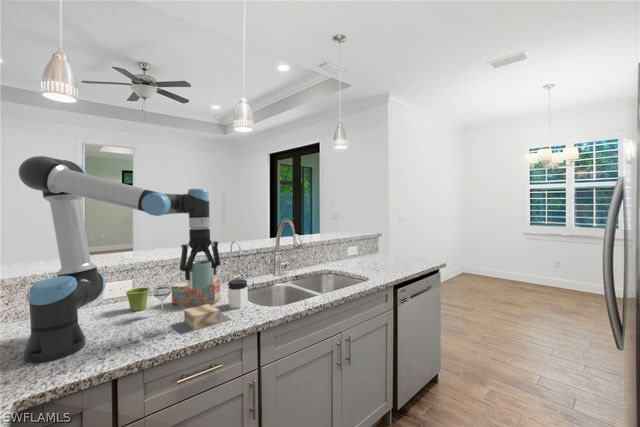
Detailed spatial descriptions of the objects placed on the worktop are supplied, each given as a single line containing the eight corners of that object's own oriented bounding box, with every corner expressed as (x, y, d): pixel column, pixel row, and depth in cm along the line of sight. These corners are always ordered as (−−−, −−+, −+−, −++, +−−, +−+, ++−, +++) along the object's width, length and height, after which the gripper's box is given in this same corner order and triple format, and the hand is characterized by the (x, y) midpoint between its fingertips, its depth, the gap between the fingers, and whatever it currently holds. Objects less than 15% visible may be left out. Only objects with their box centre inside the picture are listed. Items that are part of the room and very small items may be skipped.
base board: (180, 337, 108) (180, 334, 107) (170, 327, 116) (170, 325, 116) (232, 321, 121) (232, 319, 121) (219, 313, 130) (219, 311, 130)
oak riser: (193, 329, 112) (193, 316, 111) (184, 322, 119) (184, 309, 119) (219, 322, 118) (219, 309, 118) (209, 315, 126) (208, 303, 126)
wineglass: (171, 310, 134) (171, 284, 134) (170, 315, 128) (169, 288, 128) (154, 312, 132) (153, 286, 131) (152, 318, 126) (151, 290, 125)
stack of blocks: (171, 305, 142) (170, 279, 141) (179, 301, 148) (178, 276, 147) (215, 306, 139) (214, 280, 139) (220, 302, 146) (220, 277, 145)
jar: (249, 308, 136) (249, 282, 136) (231, 311, 132) (231, 285, 132) (244, 302, 144) (244, 278, 144) (227, 305, 140) (226, 280, 140)
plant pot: (121, 311, 134) (120, 292, 133) (139, 304, 143) (138, 286, 142) (137, 313, 131) (136, 294, 131) (154, 306, 140) (154, 288, 140)
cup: (205, 283, 124) (204, 259, 123) (215, 286, 119) (215, 261, 118) (186, 288, 118) (186, 262, 117) (197, 291, 113) (196, 265, 112)
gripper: (174, 230, 107) (176, 293, 108) (228, 227, 122) (230, 282, 122) (168, 229, 113) (170, 289, 114) (220, 226, 127) (221, 279, 128)
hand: (201, 285), depth 118 cm, fingers closed on cup, 8 cm apart
